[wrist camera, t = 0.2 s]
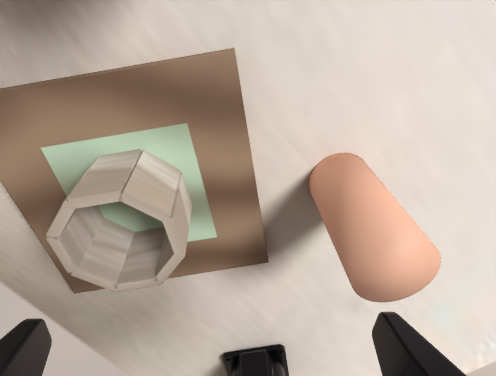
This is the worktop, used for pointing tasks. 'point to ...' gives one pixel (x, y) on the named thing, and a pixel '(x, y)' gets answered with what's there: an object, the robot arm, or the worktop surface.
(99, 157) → the tube board
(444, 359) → the robot arm
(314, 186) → the terracotta peg
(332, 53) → the worktop surface
